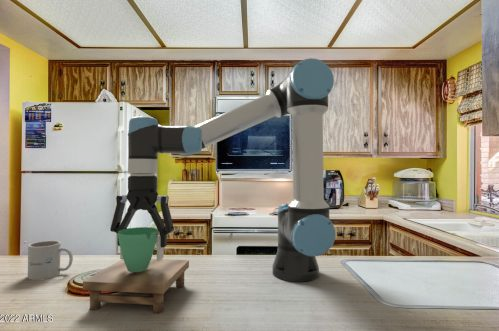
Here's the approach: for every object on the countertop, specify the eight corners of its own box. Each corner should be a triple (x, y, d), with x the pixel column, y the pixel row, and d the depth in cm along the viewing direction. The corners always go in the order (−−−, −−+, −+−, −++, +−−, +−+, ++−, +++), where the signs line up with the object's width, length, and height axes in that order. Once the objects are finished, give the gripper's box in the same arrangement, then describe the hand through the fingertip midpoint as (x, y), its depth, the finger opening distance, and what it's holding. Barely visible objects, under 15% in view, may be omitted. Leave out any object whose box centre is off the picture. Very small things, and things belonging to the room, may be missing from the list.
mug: (20, 280, 94) (21, 247, 94) (39, 270, 103) (40, 240, 103) (61, 280, 94) (61, 247, 94) (76, 270, 103) (77, 240, 103)
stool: (188, 283, 92) (188, 260, 92) (163, 315, 72) (163, 285, 72) (124, 281, 94) (124, 257, 94) (82, 310, 74) (82, 281, 74)
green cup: (147, 276, 75) (148, 235, 75) (109, 274, 76) (109, 234, 76) (169, 259, 90) (169, 224, 90) (137, 257, 91) (137, 223, 91)
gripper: (186, 175, 86) (186, 256, 86) (111, 174, 88) (110, 253, 88) (177, 175, 78) (177, 264, 78) (95, 175, 81) (94, 261, 80)
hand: (142, 258), depth 83 cm, fingers closed on green cup, 9 cm apart
